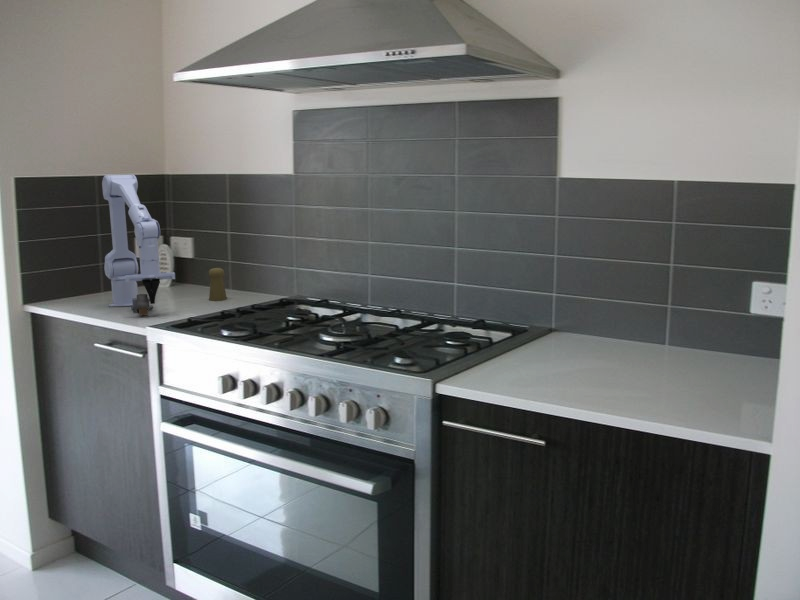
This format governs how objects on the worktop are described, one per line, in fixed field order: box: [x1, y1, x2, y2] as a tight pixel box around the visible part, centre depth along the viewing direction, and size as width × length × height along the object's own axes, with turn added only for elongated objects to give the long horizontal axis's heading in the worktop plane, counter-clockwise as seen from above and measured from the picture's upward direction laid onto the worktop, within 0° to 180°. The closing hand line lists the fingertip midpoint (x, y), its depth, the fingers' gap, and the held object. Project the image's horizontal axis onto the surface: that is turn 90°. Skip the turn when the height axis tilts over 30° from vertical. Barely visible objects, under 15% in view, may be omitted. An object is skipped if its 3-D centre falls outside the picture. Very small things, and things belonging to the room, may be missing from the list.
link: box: [137, 293, 150, 316], centre depth 256 cm, size 18×4×6 cm, turn 19°
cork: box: [208, 267, 228, 302], centre depth 277 cm, size 6×6×11 cm
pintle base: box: [130, 304, 154, 312], centre depth 262 cm, size 7×7×4 cm
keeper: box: [132, 296, 150, 314], centre depth 258 cm, size 3×6×4 cm, turn 109°
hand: (152, 303), depth 250 cm, fingers closed
